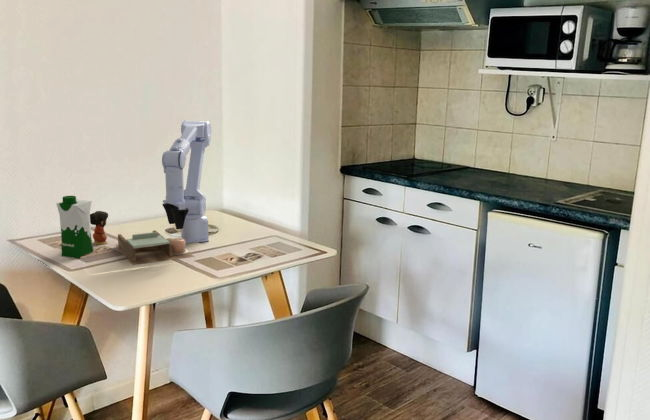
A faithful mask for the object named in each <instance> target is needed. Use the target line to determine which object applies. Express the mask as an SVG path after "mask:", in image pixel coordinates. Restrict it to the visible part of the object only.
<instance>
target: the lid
mask: <svg viewBox="0 0 650 420" xmlns="http://www.w3.org/2000/svg"><path fill="white" fill-rule="evenodd" d="M157 232H158V231H157ZM157 232H153V231H152V232H145V233H144V232H143V233H136V234H132V236H131V237H132V238H126V240H127V242H128V243H129V244H130V245H131V246H132V247H133V248H139V247H147V246H155V245H163V244H169V241H168V240H167V239H168V238H166V237H164V236H163V235H161V234H160V235H158V236H157Z"/></svg>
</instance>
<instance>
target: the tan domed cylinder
mask: <svg viewBox="0 0 650 420" xmlns="http://www.w3.org/2000/svg"><path fill="white" fill-rule="evenodd" d="M171 244H172V246H173V253H184V252H185V251H186V250H185V249H186V243H185V239H183V238H178V237H176V238H172V239H171Z"/></svg>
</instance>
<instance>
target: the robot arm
mask: <svg viewBox="0 0 650 420" xmlns="http://www.w3.org/2000/svg"><path fill="white" fill-rule="evenodd" d="M180 133H181V135H180V138H177V139H175V140H174V142H173V143H172V145H171V147H170V148H169V150H166V151H164V152H163V154H162V155H161V156H162V157H161V164H162V167H163V172H164V174H165V175H164V176H165V199H163V200H162V204H161V205H162V207H163V209H164V211H165V214H166V217H167V221H168V223H169V225H175V229H176V230H180V231H181V232H180V236H179V237H177V238H183V239H185V244H191V243H201V242H202V243H203V242H209V241H210V239H209V219H208V217H207V216H206V215H205V214H206V208H207V203H206V201H207V199H206V198H207V197H206V196H205V195H204V194H203V193H202V192H201V191H200V187H201V179H202V172H203V171H202V170H203V165H204V164H203V163H204V157H205V156H204V155H205V151H206V148H207V147H208V146H210V144H211V138H212V125H211V123H210V122H209V121H208V120H206V121H200V120H199V121H198V120H196V121H195V120H187V119H186V120H183V121H182V122H181V125H180ZM189 152H190V156H189V160H188V161H189V163H188V170H187V178H186V184H185V189H184V168H185V166H186V161H187V155H188V154H189Z"/></svg>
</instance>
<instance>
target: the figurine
mask: <svg viewBox="0 0 650 420" xmlns="http://www.w3.org/2000/svg"><path fill="white" fill-rule="evenodd" d="M108 218H109V213H108V212H106V211H102V210H97V211H95V212H92V213H90V225H92V226H95V227H94V230H93V232H94V233H93V234H92V238H93V244H94V245H95V246H104V245H107V244H108V242H107V237H108V236H107V235H106V231H105V229H104V228H105V227H106V225H107V219H108Z"/></svg>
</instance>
